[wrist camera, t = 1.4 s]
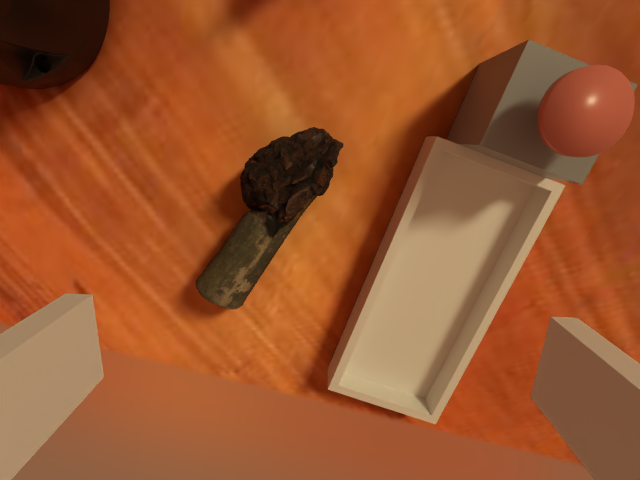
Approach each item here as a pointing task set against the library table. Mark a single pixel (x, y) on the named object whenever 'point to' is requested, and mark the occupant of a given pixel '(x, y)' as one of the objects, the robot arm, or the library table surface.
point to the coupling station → (473, 223)
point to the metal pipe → (269, 211)
